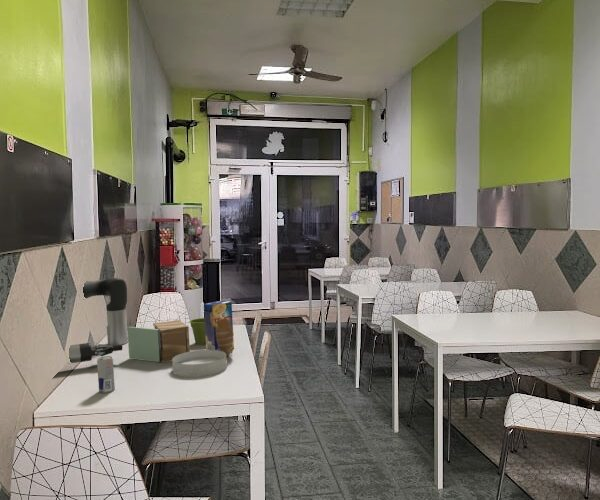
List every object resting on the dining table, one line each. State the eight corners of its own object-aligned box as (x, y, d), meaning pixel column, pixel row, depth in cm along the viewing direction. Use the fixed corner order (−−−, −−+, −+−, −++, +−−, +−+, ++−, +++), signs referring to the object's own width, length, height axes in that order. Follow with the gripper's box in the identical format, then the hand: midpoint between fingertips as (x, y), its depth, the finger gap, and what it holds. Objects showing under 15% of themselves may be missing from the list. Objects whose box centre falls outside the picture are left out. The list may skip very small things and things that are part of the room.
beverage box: (234, 348, 238) (231, 301, 236) (215, 353, 230) (212, 305, 228) (224, 346, 242) (222, 300, 241) (206, 351, 234) (203, 304, 233)
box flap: (162, 361, 219) (160, 329, 218) (160, 362, 218) (158, 330, 217) (130, 357, 228) (129, 326, 227) (129, 357, 227) (127, 327, 226)
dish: (180, 380, 193) (179, 368, 193) (166, 367, 213) (165, 355, 212) (235, 370, 203) (234, 358, 203) (217, 358, 223) (216, 347, 222)
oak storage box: (155, 353, 235) (153, 323, 234) (181, 349, 240) (179, 319, 239) (162, 362, 219) (160, 330, 218) (190, 357, 224) (188, 326, 223)
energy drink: (101, 388, 187) (99, 356, 186) (116, 387, 187) (114, 355, 186) (97, 393, 181) (94, 360, 181) (112, 392, 182) (110, 359, 181)
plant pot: (212, 338, 260) (211, 316, 259) (216, 343, 248) (215, 320, 248) (189, 341, 256) (187, 319, 255) (191, 346, 245) (190, 323, 244)
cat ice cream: (236, 357, 222) (234, 316, 221) (218, 359, 219) (216, 318, 218) (232, 352, 230) (230, 313, 229) (215, 354, 228) (213, 315, 227)
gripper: (78, 358, 221) (120, 352, 228) (80, 365, 209) (124, 359, 216) (77, 341, 220) (119, 335, 228) (79, 347, 208) (123, 341, 216)
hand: (122, 347), depth 222 cm, fingers closed
